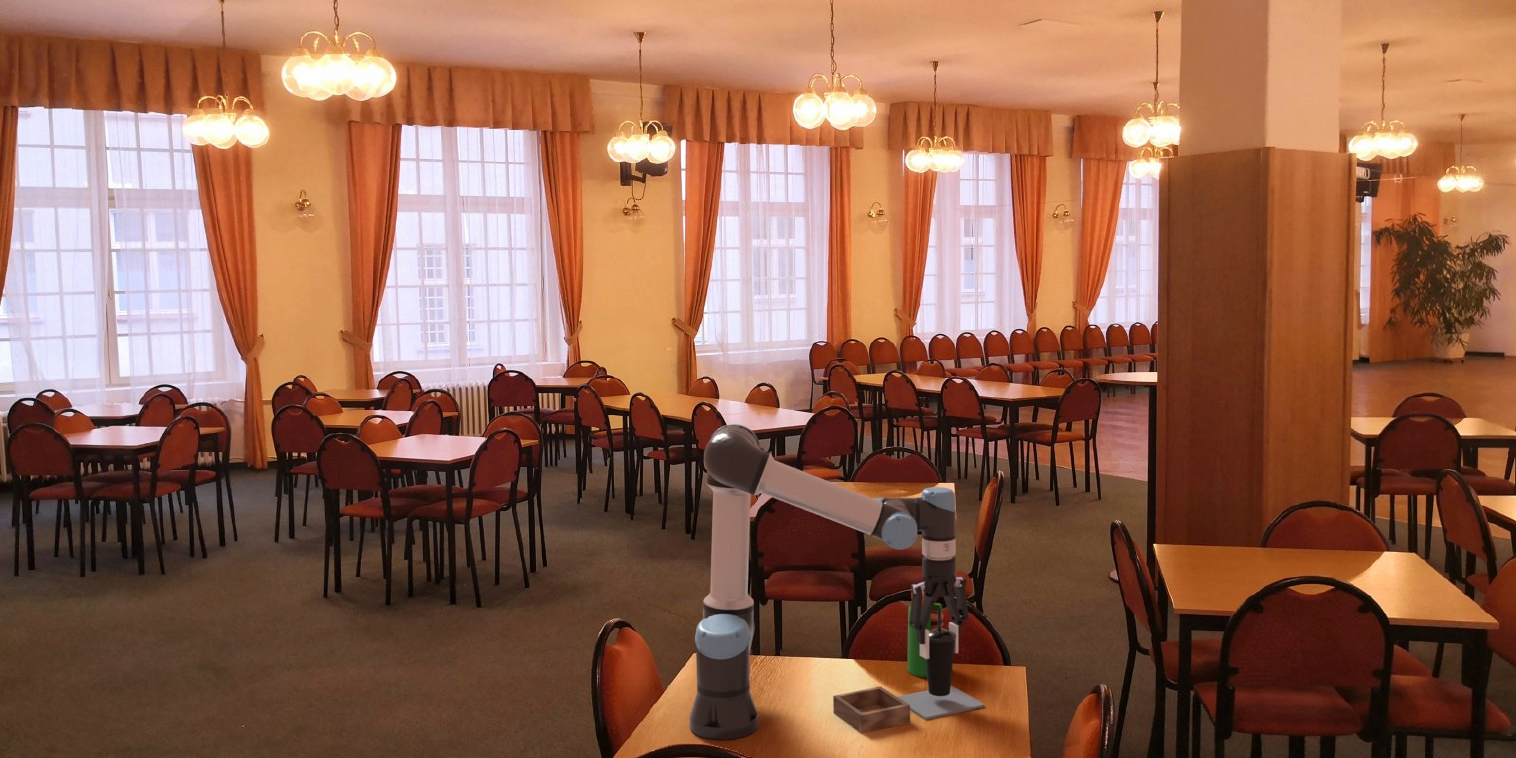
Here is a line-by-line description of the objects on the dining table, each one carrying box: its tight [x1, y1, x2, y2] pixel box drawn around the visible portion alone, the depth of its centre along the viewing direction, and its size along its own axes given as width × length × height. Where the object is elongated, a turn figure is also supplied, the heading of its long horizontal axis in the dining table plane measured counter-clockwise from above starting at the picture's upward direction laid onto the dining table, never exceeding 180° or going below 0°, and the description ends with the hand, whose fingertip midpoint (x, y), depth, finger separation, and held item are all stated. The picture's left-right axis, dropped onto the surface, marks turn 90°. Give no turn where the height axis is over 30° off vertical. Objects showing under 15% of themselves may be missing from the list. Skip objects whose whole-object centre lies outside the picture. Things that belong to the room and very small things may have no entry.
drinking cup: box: [926, 607, 956, 696], centre depth 255 cm, size 8×8×20 cm
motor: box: [907, 591, 944, 679], centre depth 277 cm, size 10×9×20 cm
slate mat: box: [897, 684, 986, 721], centre depth 257 cm, size 16×13×1 cm
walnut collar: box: [832, 686, 911, 734], centre depth 249 cm, size 12×12×4 cm
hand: (939, 654), depth 255 cm, fingers closed on drinking cup, 7 cm apart
